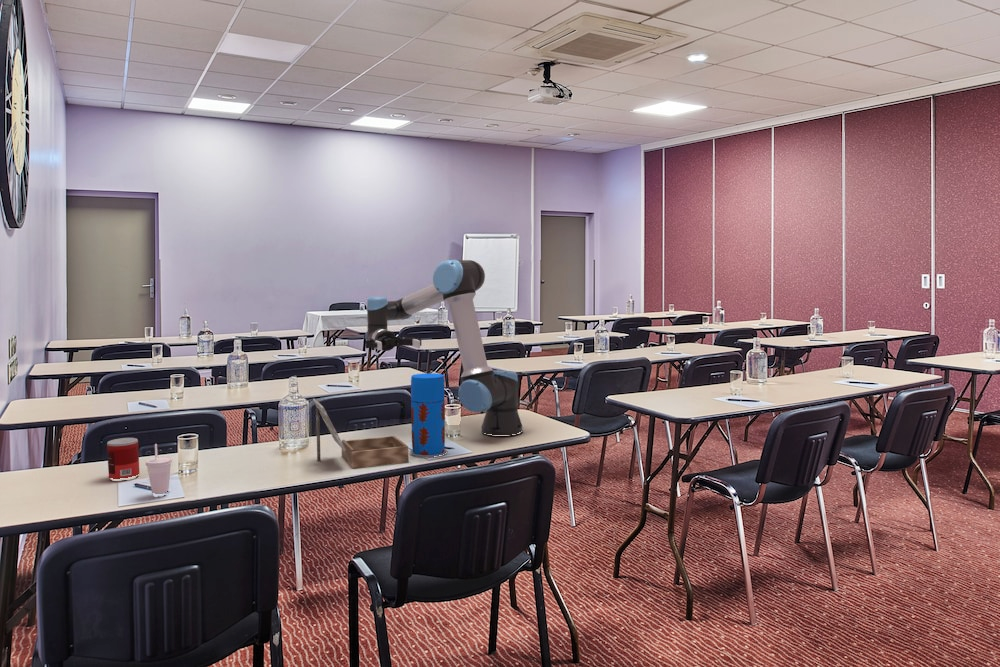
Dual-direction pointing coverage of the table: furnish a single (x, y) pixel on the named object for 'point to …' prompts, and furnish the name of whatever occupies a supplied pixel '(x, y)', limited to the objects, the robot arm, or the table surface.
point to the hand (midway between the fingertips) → (400, 345)
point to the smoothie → (159, 473)
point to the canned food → (123, 458)
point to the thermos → (428, 414)
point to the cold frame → (364, 446)
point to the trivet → (426, 455)
